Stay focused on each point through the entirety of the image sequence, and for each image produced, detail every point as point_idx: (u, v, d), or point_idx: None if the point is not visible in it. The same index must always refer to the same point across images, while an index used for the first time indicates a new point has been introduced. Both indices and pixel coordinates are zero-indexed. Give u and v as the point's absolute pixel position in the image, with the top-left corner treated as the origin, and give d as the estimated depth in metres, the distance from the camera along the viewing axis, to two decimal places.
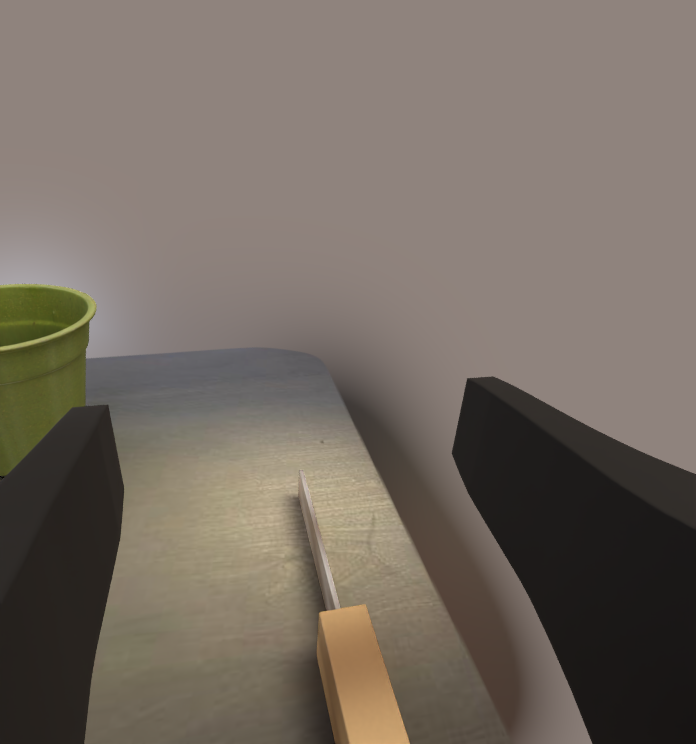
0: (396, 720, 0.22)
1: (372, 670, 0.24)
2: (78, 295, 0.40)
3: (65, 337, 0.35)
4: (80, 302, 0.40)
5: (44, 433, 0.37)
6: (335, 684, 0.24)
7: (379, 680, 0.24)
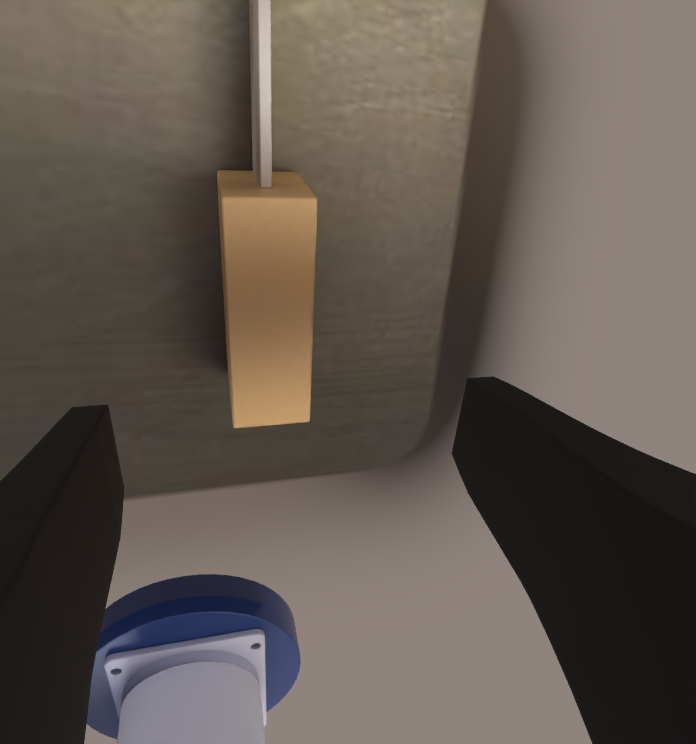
0: (302, 388, 0.17)
1: (291, 322, 0.15)
2: None
3: None
4: None
5: None
6: (228, 329, 0.15)
7: (297, 337, 0.16)
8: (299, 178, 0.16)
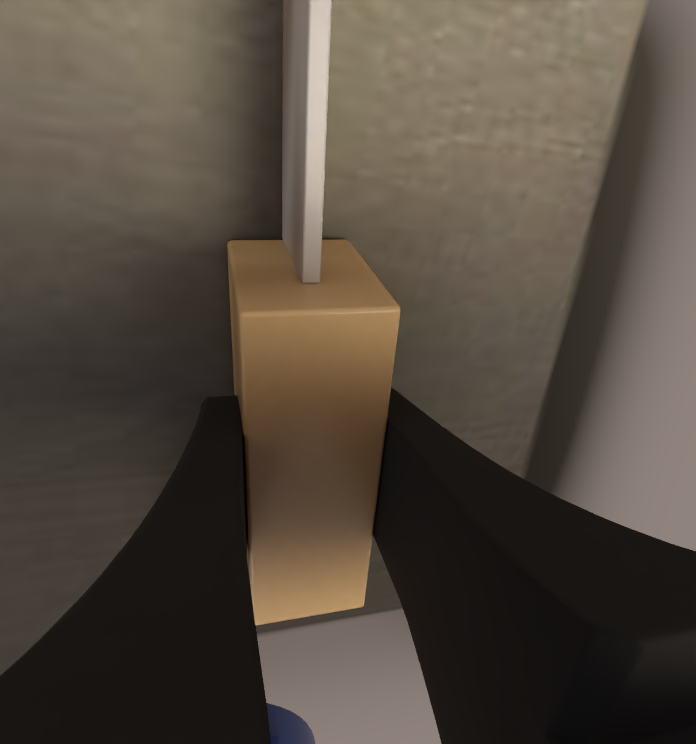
0: (357, 568, 0.11)
1: (345, 486, 0.10)
2: None
3: None
4: None
5: None
6: (247, 502, 0.09)
7: (353, 505, 0.10)
8: (356, 255, 0.10)
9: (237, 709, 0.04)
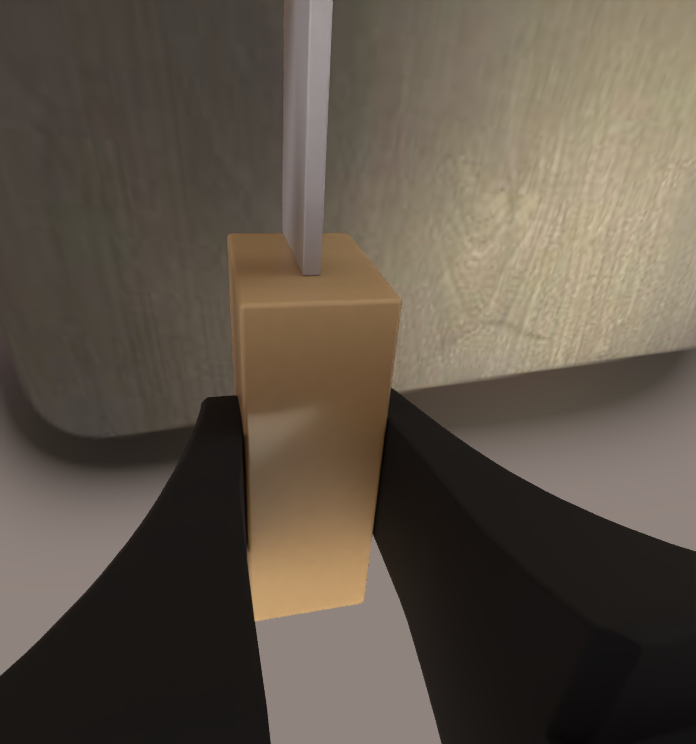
0: (357, 564, 0.11)
1: (345, 481, 0.10)
2: None
3: None
4: None
5: None
6: (246, 496, 0.09)
7: (354, 500, 0.10)
8: (357, 248, 0.10)
9: (237, 709, 0.04)
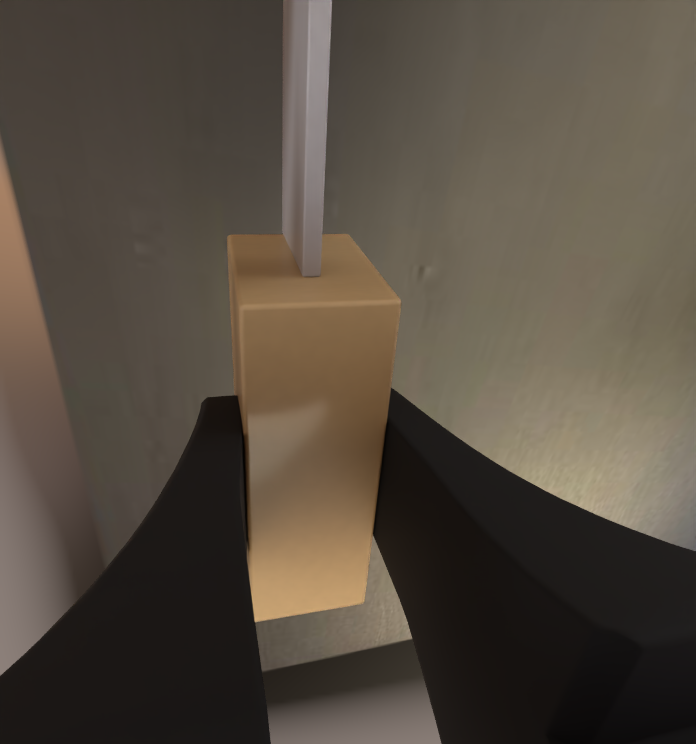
0: (357, 564, 0.11)
1: (345, 482, 0.10)
2: None
3: None
4: None
5: None
6: (246, 497, 0.09)
7: (354, 501, 0.10)
8: (357, 249, 0.10)
9: (237, 709, 0.04)
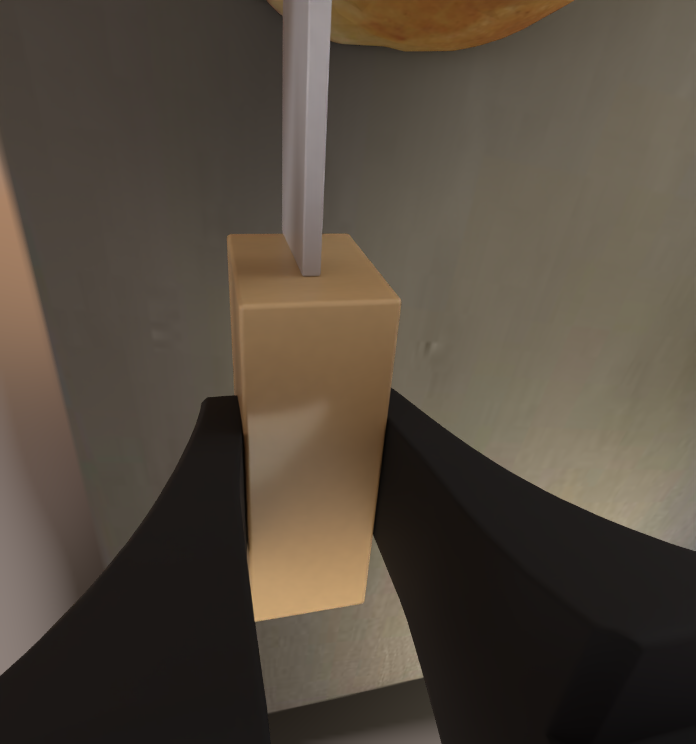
0: (357, 564, 0.11)
1: (345, 481, 0.10)
2: None
3: None
4: None
5: None
6: (246, 497, 0.09)
7: (354, 500, 0.10)
8: (357, 248, 0.10)
9: (237, 709, 0.04)
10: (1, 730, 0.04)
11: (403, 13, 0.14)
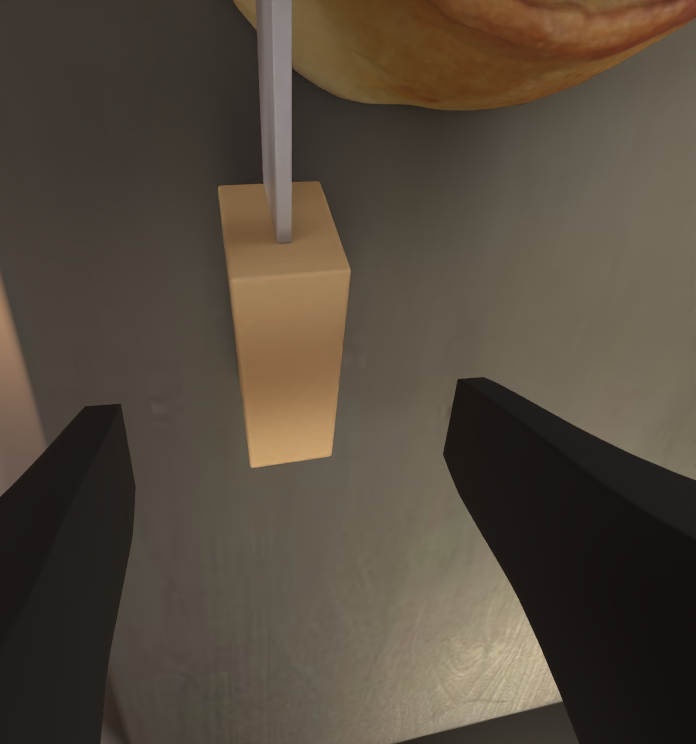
0: (325, 433, 0.15)
1: (314, 383, 0.13)
2: None
3: None
4: None
5: None
6: (242, 394, 0.13)
7: (320, 395, 0.14)
8: (324, 203, 0.12)
9: None
10: None
11: (438, 77, 0.12)
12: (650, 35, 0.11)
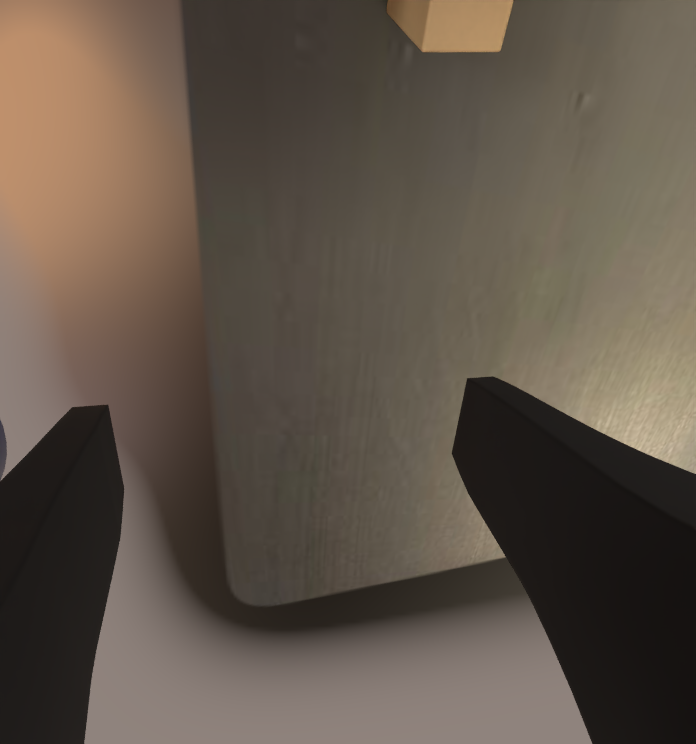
0: None
1: None
2: None
3: None
4: None
5: None
6: None
7: None
8: None
9: None
10: None
11: None
12: None
